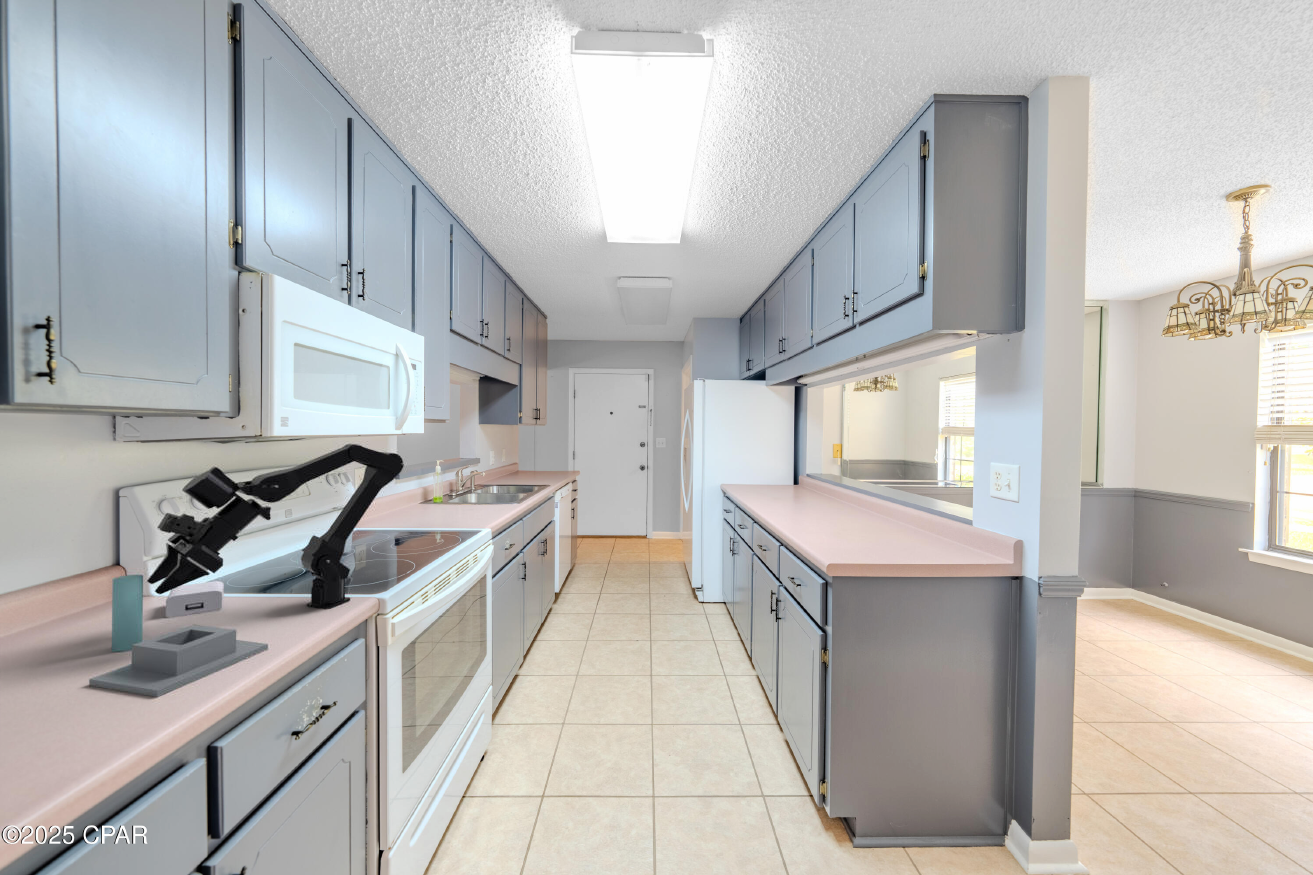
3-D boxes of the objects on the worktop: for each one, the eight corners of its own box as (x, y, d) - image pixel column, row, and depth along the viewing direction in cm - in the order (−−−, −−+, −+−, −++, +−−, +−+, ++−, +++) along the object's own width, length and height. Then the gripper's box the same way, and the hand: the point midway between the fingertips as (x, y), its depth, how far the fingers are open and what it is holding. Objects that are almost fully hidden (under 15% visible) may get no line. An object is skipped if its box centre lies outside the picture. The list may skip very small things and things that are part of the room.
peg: (132, 641, 99) (132, 573, 99) (148, 644, 99) (148, 575, 98) (105, 650, 95) (106, 579, 95) (122, 652, 95) (123, 581, 94)
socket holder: (208, 641, 101) (208, 615, 100) (267, 649, 98) (268, 622, 97) (89, 685, 83) (89, 653, 83) (157, 696, 80) (157, 664, 80)
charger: (224, 593, 129) (221, 610, 117) (174, 600, 124) (165, 619, 112) (224, 574, 129) (221, 589, 117) (174, 580, 124) (165, 597, 112)
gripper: (182, 493, 109) (105, 554, 101) (202, 502, 98) (116, 572, 89) (229, 526, 116) (160, 586, 107) (253, 539, 104) (177, 607, 95)
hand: (153, 587), depth 100 cm, fingers open, 9 cm apart
